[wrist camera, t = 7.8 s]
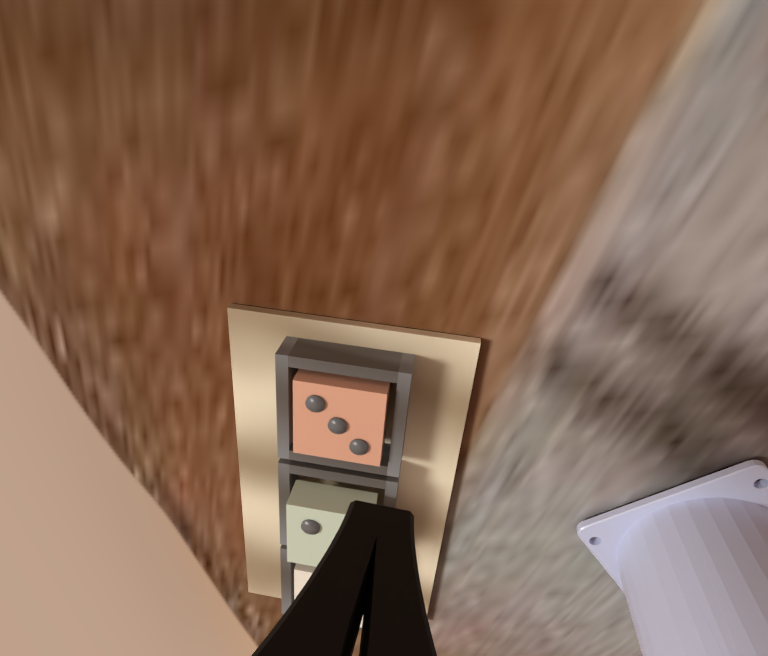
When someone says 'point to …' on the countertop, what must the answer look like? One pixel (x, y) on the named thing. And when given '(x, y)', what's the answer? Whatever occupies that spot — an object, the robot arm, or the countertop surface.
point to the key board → (391, 480)
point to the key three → (340, 416)
